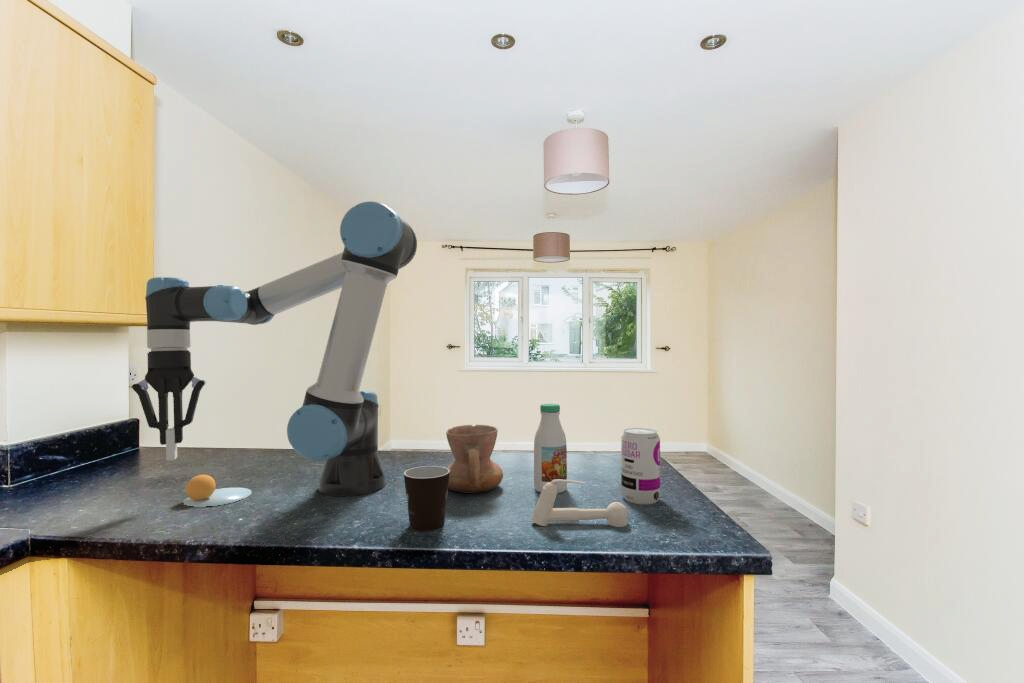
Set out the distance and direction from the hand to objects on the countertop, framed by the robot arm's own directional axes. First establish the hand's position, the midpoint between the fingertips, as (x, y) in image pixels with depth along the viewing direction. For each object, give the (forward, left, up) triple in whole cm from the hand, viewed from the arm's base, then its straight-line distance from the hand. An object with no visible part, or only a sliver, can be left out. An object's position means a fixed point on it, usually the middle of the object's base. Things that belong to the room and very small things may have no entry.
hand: (171, 458), depth 100 cm
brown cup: (-46, +36, -10) cm, 60 cm away
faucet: (-71, +50, -10) cm, 88 cm away
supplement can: (-91, +45, -10) cm, 102 cm away
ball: (-5, 0, -7) cm, 9 cm away
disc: (-8, 0, -10) cm, 13 cm away
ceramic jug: (-61, +21, -10) cm, 66 cm away
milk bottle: (-77, +30, -10) cm, 84 cm away
